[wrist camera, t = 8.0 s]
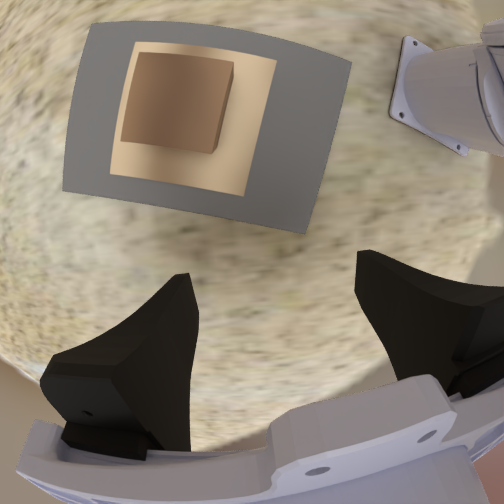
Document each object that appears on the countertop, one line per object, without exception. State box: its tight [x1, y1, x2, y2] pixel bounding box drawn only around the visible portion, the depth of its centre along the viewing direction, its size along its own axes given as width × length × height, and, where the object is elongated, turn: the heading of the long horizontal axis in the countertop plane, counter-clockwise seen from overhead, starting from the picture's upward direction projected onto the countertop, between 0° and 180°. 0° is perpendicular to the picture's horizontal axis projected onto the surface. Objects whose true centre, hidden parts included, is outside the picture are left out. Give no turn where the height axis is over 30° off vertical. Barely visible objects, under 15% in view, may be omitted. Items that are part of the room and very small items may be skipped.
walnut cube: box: [120, 52, 234, 154], centre depth 13 cm, size 4×4×4 cm
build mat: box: [63, 21, 352, 234], centre depth 18 cm, size 20×14×1 cm
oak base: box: [110, 42, 277, 196], centre depth 16 cm, size 9×9×2 cm
